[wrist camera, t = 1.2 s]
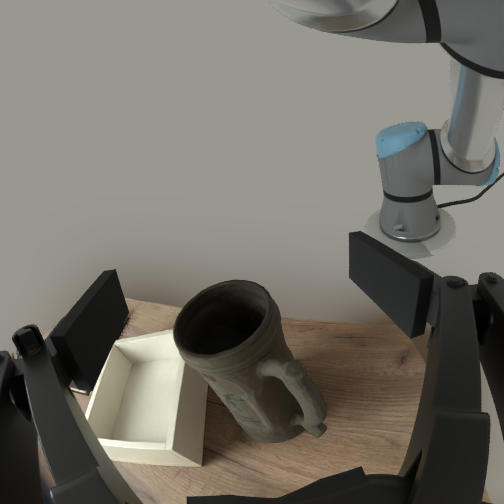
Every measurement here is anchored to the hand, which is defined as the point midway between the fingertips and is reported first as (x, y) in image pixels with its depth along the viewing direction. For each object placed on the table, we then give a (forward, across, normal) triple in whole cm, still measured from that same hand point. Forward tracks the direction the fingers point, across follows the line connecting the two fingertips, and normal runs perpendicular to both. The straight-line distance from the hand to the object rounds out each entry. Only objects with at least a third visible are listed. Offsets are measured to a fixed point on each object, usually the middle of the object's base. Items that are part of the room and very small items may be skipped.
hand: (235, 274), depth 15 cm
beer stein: (+10, +4, -26) cm, 28 cm away
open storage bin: (+17, -16, -29) cm, 37 cm away
